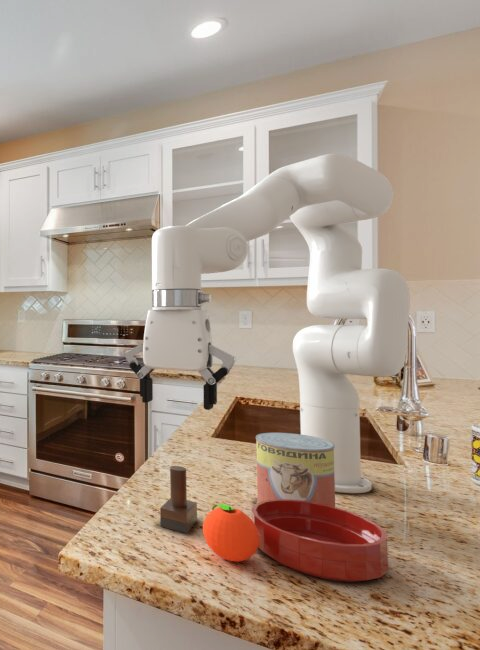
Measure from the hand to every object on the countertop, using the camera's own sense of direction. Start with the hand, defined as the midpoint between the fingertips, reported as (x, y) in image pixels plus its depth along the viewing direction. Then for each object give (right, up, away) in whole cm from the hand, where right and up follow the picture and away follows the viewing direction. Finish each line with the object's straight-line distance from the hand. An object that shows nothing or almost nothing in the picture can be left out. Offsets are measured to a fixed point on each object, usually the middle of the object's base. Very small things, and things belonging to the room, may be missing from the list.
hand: (176, 405), depth 78 cm
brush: (0, -19, -1) cm, 19 cm away
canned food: (+22, -19, +4) cm, 30 cm away
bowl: (+14, -19, -12) cm, 26 cm away
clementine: (+2, -19, -12) cm, 23 cm away
